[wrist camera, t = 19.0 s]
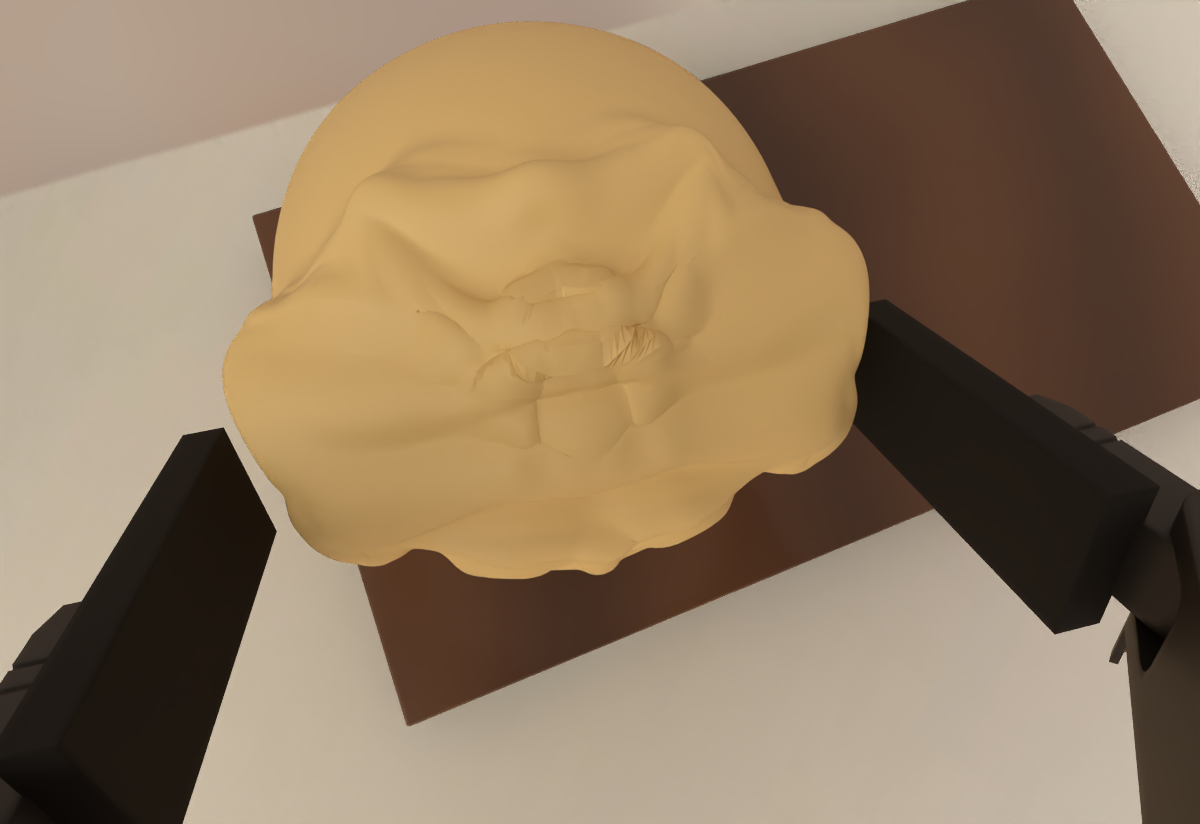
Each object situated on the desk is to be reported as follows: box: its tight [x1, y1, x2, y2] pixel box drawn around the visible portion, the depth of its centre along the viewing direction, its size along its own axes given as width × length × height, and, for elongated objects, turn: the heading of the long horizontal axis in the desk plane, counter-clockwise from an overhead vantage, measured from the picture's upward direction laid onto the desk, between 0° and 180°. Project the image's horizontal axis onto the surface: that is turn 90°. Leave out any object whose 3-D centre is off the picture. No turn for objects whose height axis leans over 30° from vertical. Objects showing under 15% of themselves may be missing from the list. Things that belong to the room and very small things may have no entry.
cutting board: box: [253, 0, 1200, 726], centre depth 22 cm, size 30×16×2 cm, turn 111°
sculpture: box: [222, 21, 869, 579], centre depth 15 cm, size 12×12×11 cm
